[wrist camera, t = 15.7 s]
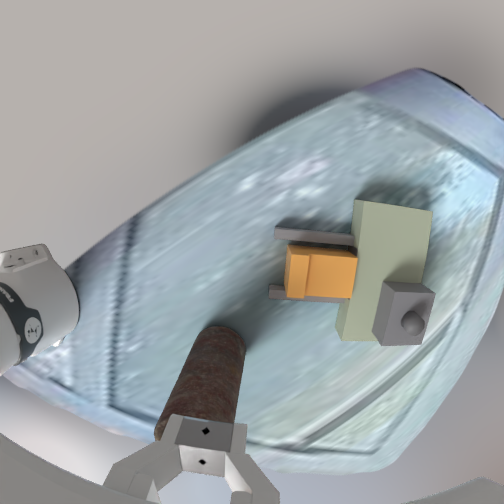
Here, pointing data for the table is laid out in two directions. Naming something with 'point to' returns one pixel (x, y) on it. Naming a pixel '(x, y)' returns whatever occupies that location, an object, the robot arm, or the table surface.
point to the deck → (378, 274)
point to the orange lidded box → (319, 272)
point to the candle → (208, 379)
